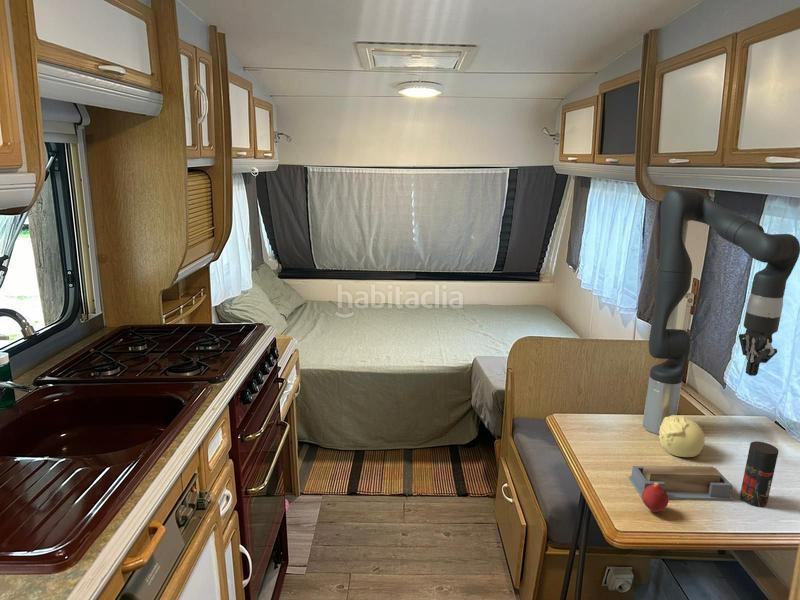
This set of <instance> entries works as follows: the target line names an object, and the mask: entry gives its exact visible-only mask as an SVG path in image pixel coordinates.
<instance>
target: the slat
mask: <svg viewBox="0 0 800 600" xmlns="http://www.w3.org/2000/svg"><path fill="white" fill-rule="evenodd" d="M643 466H644V468H643V476H644V477H645V479H646V480H647V481H659V482H664V483H665V487H664V490H665V491H683V492H709V487H710V483H719V482H720V477H721V475H720V474H719V473H718V472H717V471H716V470H715V469H714V468H715V467H714V466H709V465H708V466H707V465H705V466H703V465H702V466H701V465H700V466H698V465H657V464H656V465H655V464H654V465H653V464H652V465H651V464H648V465H647V464H644V465H643Z"/></svg>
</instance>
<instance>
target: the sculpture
mask: <svg viewBox="0 0 800 600" xmlns="http://www.w3.org/2000/svg"><path fill="white" fill-rule="evenodd" d="M704 433H705V432H704V431H703V429H702V427H701V426H700V425H699V424H697V423H696V422H695V421H694V420H691V419H689V418H687V417H686V416H685V415H678V414H677V415H672V416H669V417H665V418H664V419H663V423H662V424H661V426H660V430H659V434H658V435H659V436H658V439H659V442H660V445H661V447H662V448H663V449H665V451H666V452H667V453H669V454H670V455H672V456H676V457H681V458H693V457H696V456H698V455H700V453H701V452H702V451H703V449H704V446H705V441H706V440H705V439H706V438H705V434H704Z"/></svg>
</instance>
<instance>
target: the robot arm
mask: <svg viewBox="0 0 800 600" xmlns="http://www.w3.org/2000/svg"><path fill="white" fill-rule="evenodd" d="M689 221H690V222H691V221H693V222H699V223H702V224H704V225H707V226H709V227H711V228H712V229H713V230H714V231H715V233H716V234H717V235H719V237H721V238H722V239H723V240H725V241H727V242H729V243H731V244H733V245H735V246H737V247H740V248H741V249H742V250H743V251H744V252H745V253H746V254H747V255H748V256H750V257H751V258H752V259H753V260H756V261H758V262H761V263H765V264H766V265H765V267H764V268H763V269H761V270H759V271H757V272H756V273H754V276H753V280H752V284H751V289H750V294H749V297H748V301H747V304H746V311H745V315H744V320H743V328H745V329H746V330H745V332H744V333H739V334H738V338H739V344H740V348H741V352H742V355H743V356H745V357H746V361H747V362H746V368H745V374H746V375H748V376H751V377H753V376H754V377H755V376H757V375H758V372H759V368H760V364H761V363H763V364H766V363H768V361H770V360H771V359H772V358H773V357H774V356H776V354H777V353H778V349H777V348H773V345H772V343H773V335H774V334H775V333H777V332H778V331H779V327H780V326H779V325H780V321H781V317H782V312H783V306H784V296H785V292H786V286H787V281H788V279H789V277H790V276H791V274H792V272H793V270H794V268H795V267H796V264H797V262H798V259H799V257H800V241H799V239H798V238H797V237H796V236H795V235H794V234H790V233H774V234H773V233H768V232H765V230H764V227H763V226H761V225H760V224H759V223H757V222H755V221H752V220H750V219H748V218H745V217H743V216H742V215H739V214H736V213H734V212H732V211H730V210H728V209H727V208H725V207H723V206H722V205H720V204H718V203H716V202H715V201H714V200H712V199H711V198H710V197H708V196H707V195H706V194H705V193H702V192H701V191H699V190H696V189H689V188H686V189H685V188H672V189H669V190H668V191H667V192H665V193H664V195H663V197H662V200H661V204H660V243H659V259H658V265H657V273H656V287H655V298H654V299H655V300H654V307H653V308H654V310H653V314H652V320H651V321H652V322H651V326H650V331H649V337H648V352H649V354H650V356H651V357H652V358H653V359H659V360H660V359H661V360H663V359H664V360H665V361H663V362H661V363H659V364H655V365H653V366H651V368H650V372H649V378H648V386H647V391H646V395H645V403H644V411H643V418H642V427H643V428H644V429H645V430H646V431H648V432H650V433H653V434H655V435H656V434H657V435H660V434H659V430H660V426H661V424H662V423H663V419H664V418H665V417H669V416H672V415H677V416H678V410H679V404H680V403H679V402H680V396H681V392H682V391H681V390H682V385H683V378H684V376H685V373H686V368H687V364H688V359H689V356H690V351H691V343H692V342H691V337H690V334H689V332H688V331H687V330H685V329H679V328H677V329H674V328H667V325H668V322H669V319H670V316H671V315H672V313H673V311H674V310H675V309H676V307H677V306H678V305H679V304H680V303H681V301H682V300H683V299H684V297H686V295H687V293H688V292H689V290H690V288H691V282H692V275H693V264H692V263H693V262H692V260H691V257H690V255H689V252H688V250H687V247H686V246H685V244H684V239H683V238H684V237H683V226H684V222H689Z"/></svg>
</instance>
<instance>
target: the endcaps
mask: <svg viewBox="0 0 800 600" xmlns="http://www.w3.org/2000/svg"><path fill="white" fill-rule="evenodd" d="M643 468H644V465H632V468H631V475H630V476H629V475H628V476H627V477H628V478H629V479H628V480H629V481H630V483H631V484H632V486H633V487H634V489H635V491H636V492H637V493H638V495H639V496H640V498H641V499H642V493H643V491H644V489H645V488H646V487H647V486H649V485H653V484H654V482H657V483H658V484H659V485H660V486H661V487H662V488H663V489H664V487H665V483H664V482H659V481H647V480H646V479H645V477H644V476H643ZM713 468H714V469H715V470H716V471H717V472H718V473H719V474H720V475H721V477H720V482H719V483H710V487H709V492H683V491H666V493H667V495H668V500H688V501H689V500H690V501H692V500H693V501H697V500H698V501H729V502H731V501H732V502H733V501H734V498H733V497H732V495H731V494H732V489H733V484H732V483H731V482H730V481H729V480H728V479H727V478H726V477H725V475H724V474H722V472H720V471H719V470H718V468H716V467H713Z"/></svg>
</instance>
